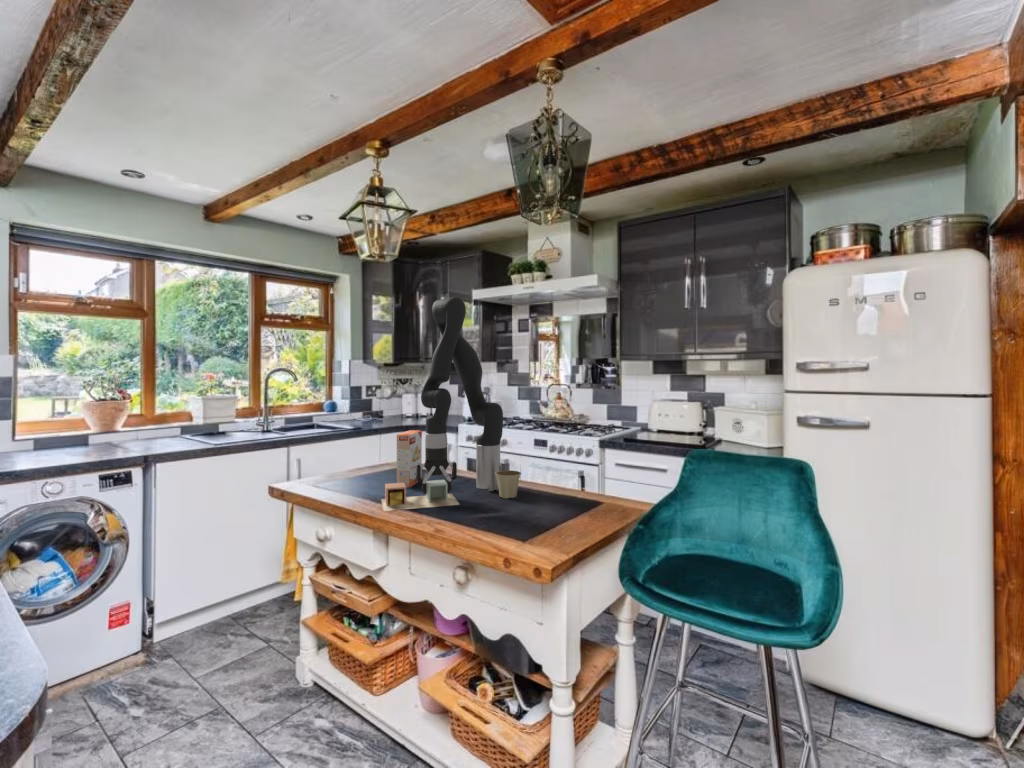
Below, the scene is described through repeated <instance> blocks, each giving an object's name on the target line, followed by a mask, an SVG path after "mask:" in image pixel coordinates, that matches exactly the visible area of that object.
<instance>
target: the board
mask: <svg viewBox="0 0 1024 768" xmlns="http://www.w3.org/2000/svg"><path fill="white" fill-rule="evenodd" d="M380 502H381V505H382V511H383V512H388V511H390V512H391V511H401V510H411V509H412V510H413V509H426V508H436V507H437V508H439V507H448V506H449V507H450V506H459V505H460V502H459V500H457V498H456V497H455V495H454V494H453V493H448V501H446V500H445V499H444V497H436V498H430V503H429V502H428V500H427V498H426V495H417V496H406V505H405V504H404V502H403V500H402V504H398V505H390V503H389V501H388V506H386V502H385V498H380Z"/></svg>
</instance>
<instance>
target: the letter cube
mask: <svg viewBox="0 0 1024 768" xmlns="http://www.w3.org/2000/svg"><path fill="white" fill-rule="evenodd" d="M389 503H390V505H398V504H402V491H401V490H389Z"/></svg>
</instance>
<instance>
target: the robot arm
mask: <svg viewBox="0 0 1024 768" xmlns="http://www.w3.org/2000/svg"><path fill="white" fill-rule="evenodd" d="M431 307H432V308H431V312H432V313H431V314H432V317H433V320H434V322H435V324H436V326H437V328H438V330H439V332H440V335H442V337H441V339H440V340H439V343H438V345H437V346H436V348H435V350H434V352H433V354H432V359H431V364H430V369H429V374H428V377H427V378H426V382H425V383H424V386H423V388H422V390H421V394H420V401H421V404H422V405H423V407H424V408H427V409H435V410H434V414H432V415H431V414H430V415H428V416H427V417H426V420H425V439H424V443H425V444H424V446H425V447H424V448H425V450H424V451H425V454H424V455H425V458H424V463H422V464H416V480H417V481H418V482H419V483H421V491H422V493H423V494H424V495H426V494H427V483H426V482H427V481H429V479H430V478H431V476H442V475H443V476H444V477H445V478H446V480H445V481H446V483H447V490H448V493H450V492H451V490H452V482H453V481H454V480H457V473H458V472H457V471H458V470H457V468H458V467H457V462H456V461H454V460H453V461H451V462H449V461H448V435H447V433H448V432H447V420H448V418H449V417H448V416H449V412H450V409H451V404H452V397H451V392H450V390H448V389H446V388H443V387H440V386H441V384H444V383H448V381H449V380H450V378H451V377H450V376H451V371H452V366H453V365H454V368H455V370H456V373H457V376H458V377H459V379H460V382H461V385H462V389H463V391H464V395H465V396H466V400H467V404H468V407H469V411H470V416H471V418H472V420H473V422H474V423H475V424H476V425H479V426H482V427H483V432H482V434H480V435H478V436H476V441H475V444H476V445H475V447H476V449H475V450H476V453H475V454H476V455H475V456H476V458H475V463H476V466H475V467H476V469H475V471H476V473H475V476H476V479H475V480H476V481H475V485H476V488H477V489H480V490H486V491H487V492H495V491H494V490H496V491H499V488H498V480H497V477H496V474H495V473H496V472H498V471H503V464H501V440H502V437H503V431H504V430H503V428H504V412H503V408H502V407H501V405H500V404H499V403H498V402H497V403H496V402H489V401H487V400H486V398H485V396H484V392H483V391H482V379H483V367H482V363H481V360H480V359H479V356H478V353H477V351H476V350H475V349H474V347H473V346H472V345H471V344H470V343H469V342H468V341H467V340H466V338H464V337H463V335H462V334H461V330H462V329H463V325H464V322H465V319H466V314H467V312H466V311H467V307H466V304H465V302H464V300H463V299H461V298H460V297H458V296H452V297H446V298H441V299H440V298H439V299H437V300H435V301H434V302H433V304H432V306H431ZM448 467H449V468H450V469H451V475H449V474H448V472H447V469H448ZM424 468H425V470H426V471H425V473H424V475H423V477H422V478H421V474H422V473H421V470H422V471H423V469H424Z"/></svg>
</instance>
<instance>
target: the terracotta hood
mask: <svg viewBox="0 0 1024 768" xmlns="http://www.w3.org/2000/svg"><path fill="white" fill-rule="evenodd" d="M389 490H401V491H402V500H403V502H404V504H405V505H406V497H407V488H406V486H405V484H404V483H397V482H393V483H385V484H384V499H385V502H386V506H388V501H389Z"/></svg>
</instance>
